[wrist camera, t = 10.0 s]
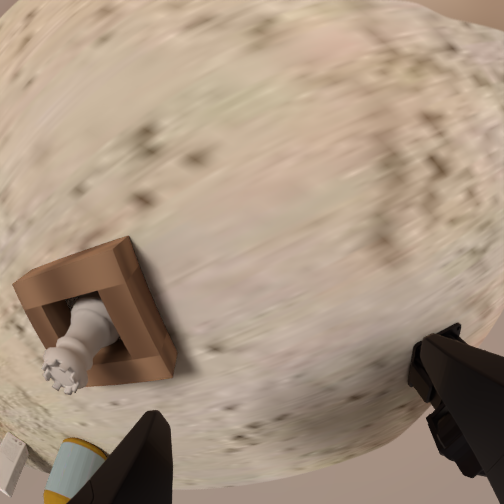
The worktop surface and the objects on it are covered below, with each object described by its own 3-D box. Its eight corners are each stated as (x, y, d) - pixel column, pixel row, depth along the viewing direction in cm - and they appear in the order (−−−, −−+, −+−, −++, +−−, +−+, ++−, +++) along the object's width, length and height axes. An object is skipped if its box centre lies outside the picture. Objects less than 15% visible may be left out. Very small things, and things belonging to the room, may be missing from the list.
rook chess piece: (138, 316, 20) (105, 390, 12) (108, 344, 20) (74, 413, 13) (96, 275, 19) (42, 335, 11) (69, 307, 19) (21, 367, 12)
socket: (128, 235, 18) (112, 249, 15) (177, 352, 21) (172, 377, 18) (32, 269, 18) (12, 284, 15) (83, 366, 21) (71, 387, 18)
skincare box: (7, 430, 25) (-16, 476, 14) (26, 443, 26) (5, 491, 15) (11, 442, 27) (-8, 485, 16) (29, 454, 28) (12, 498, 16)
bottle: (99, 466, 28) (81, 543, 13) (59, 442, 26) (31, 519, 11) (117, 456, 26) (98, 547, 12) (72, 429, 24) (40, 520, 10)
